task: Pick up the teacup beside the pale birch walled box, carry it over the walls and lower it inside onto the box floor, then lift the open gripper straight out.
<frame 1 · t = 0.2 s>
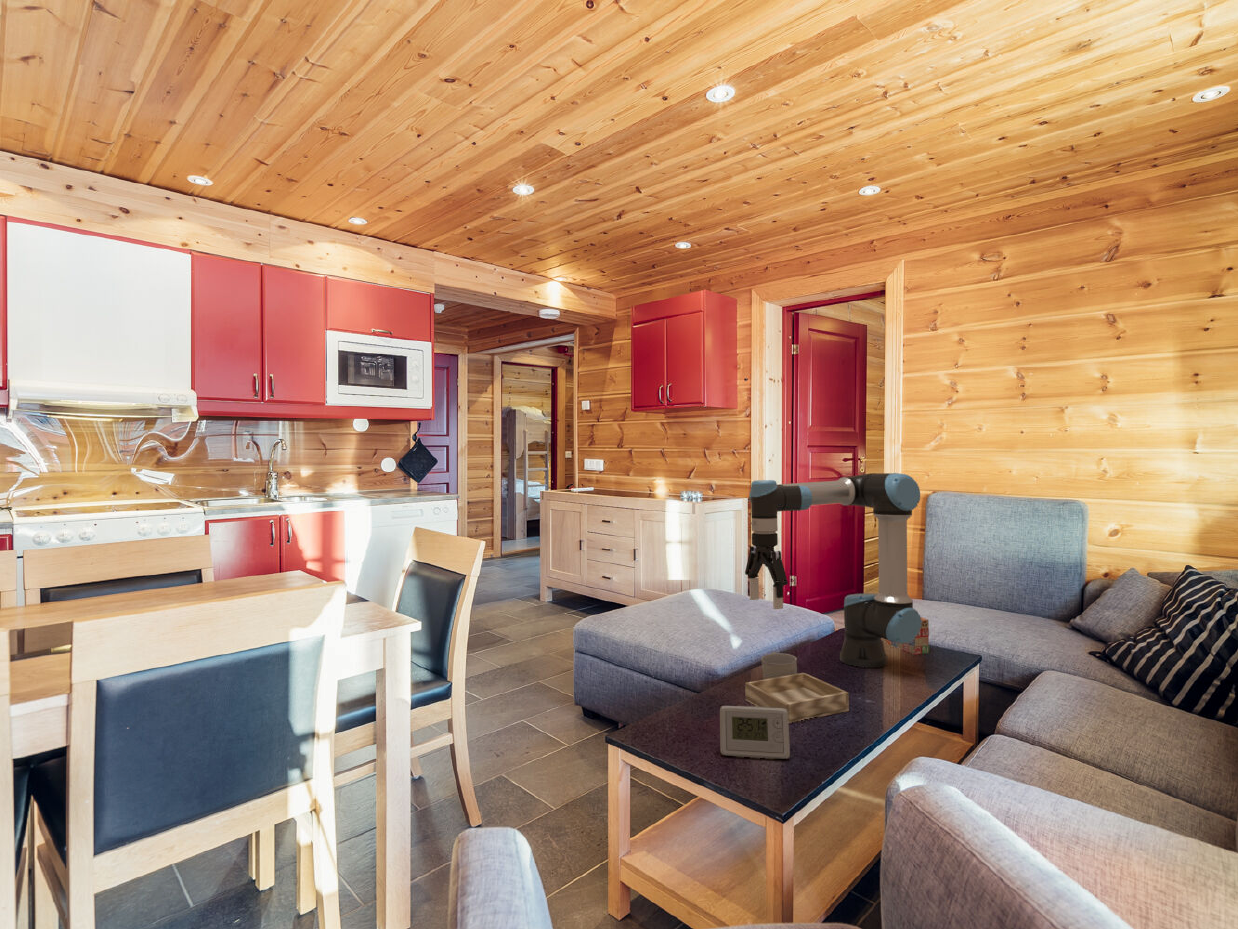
hand: (765, 604, 188), 27 cm above the table, tool pointing down, fingers open, 13 cm apart
stack of blocks: (901, 646, 236), on the table
walled box: (795, 705, 180), on the table
digital clock: (754, 755, 150), on the table
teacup: (779, 682, 200), on the table
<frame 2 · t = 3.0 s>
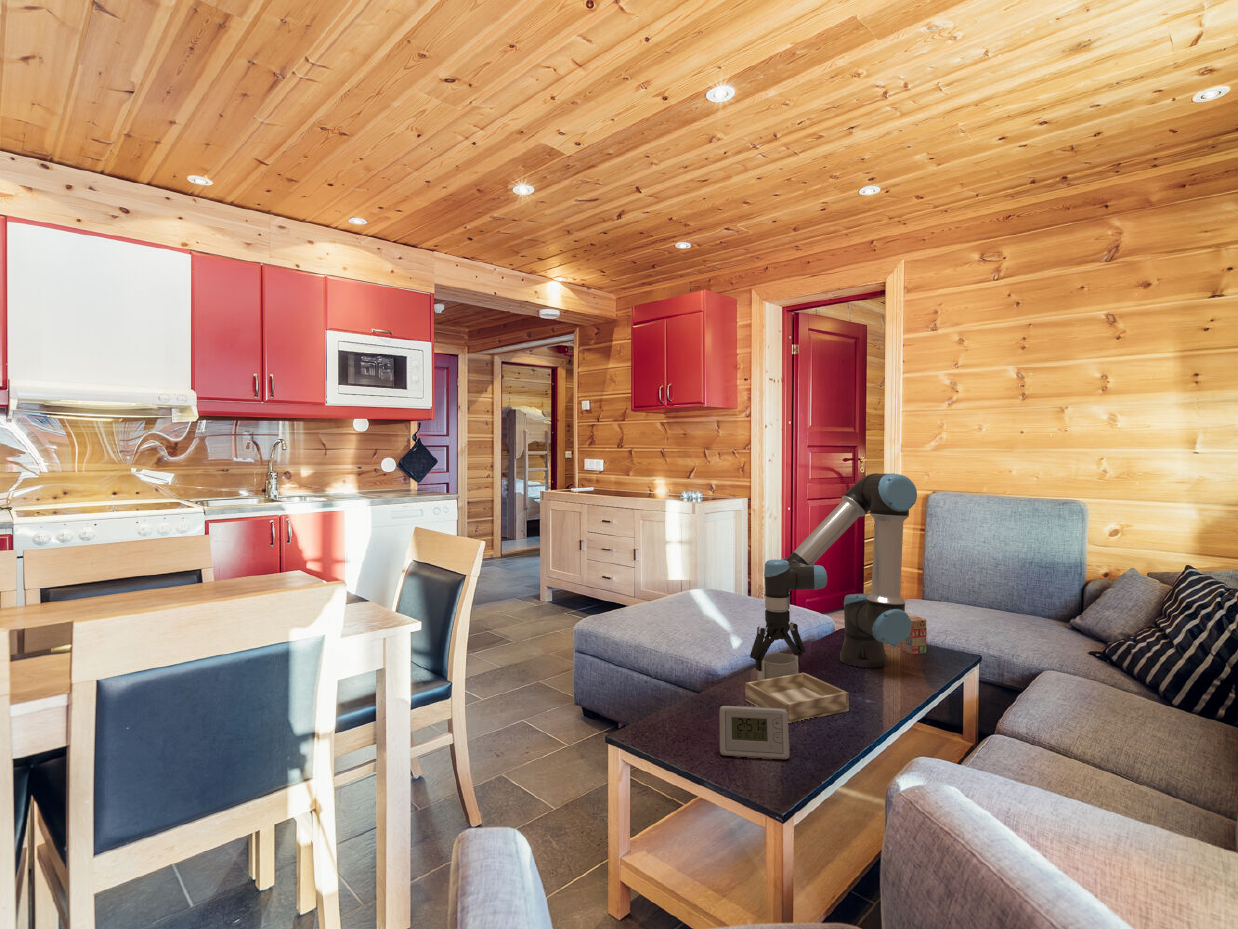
hand: (778, 678, 200), 1 cm above the table, tool pointing down, fingers open, 12 cm apart
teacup: (779, 681, 200), on the table, touching gripper
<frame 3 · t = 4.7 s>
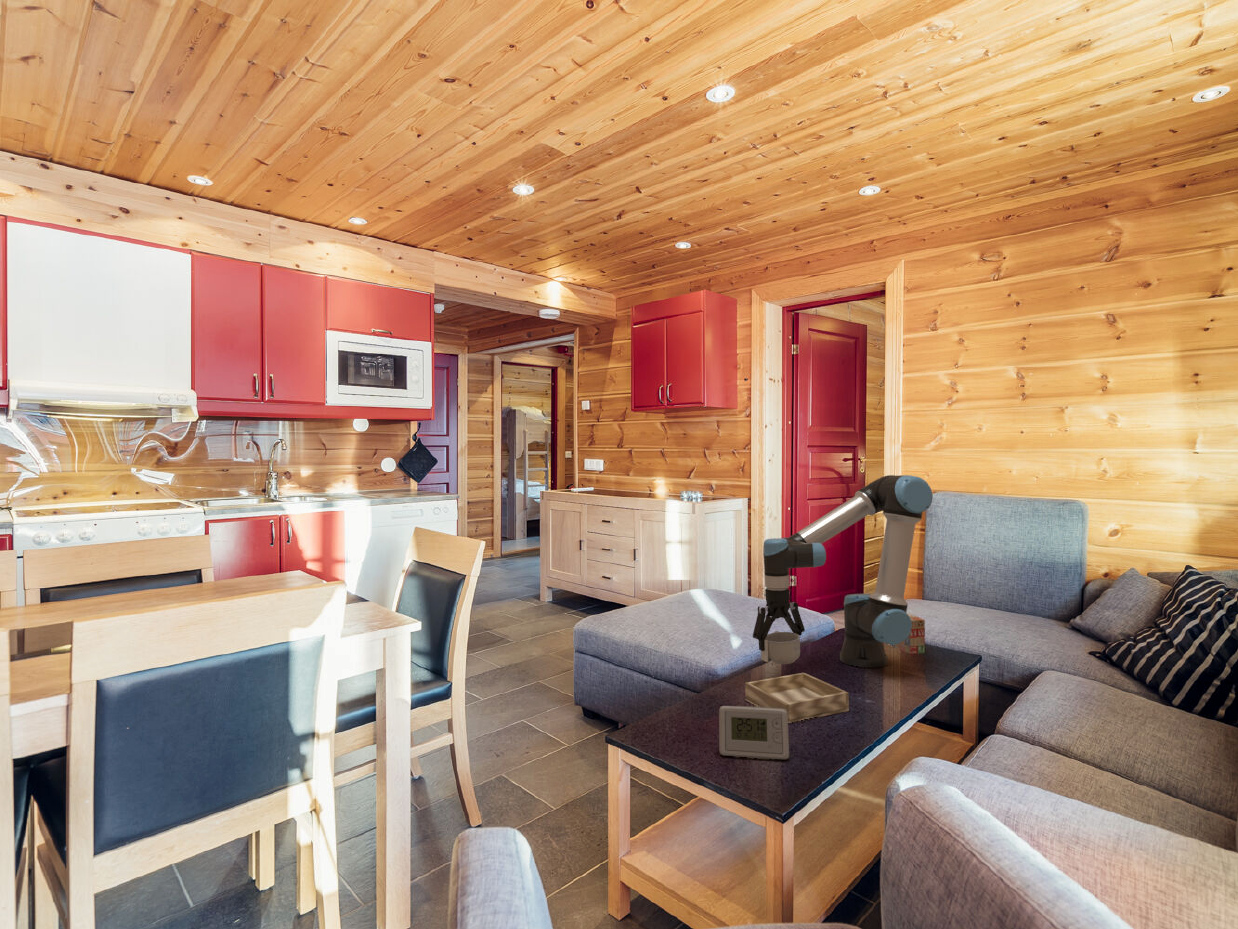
hand: (780, 657, 200), 7 cm above the table, tool pointing down, fingers closed on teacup, 11 cm apart
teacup: (782, 660, 201), point 6 cm above the table, touching gripper
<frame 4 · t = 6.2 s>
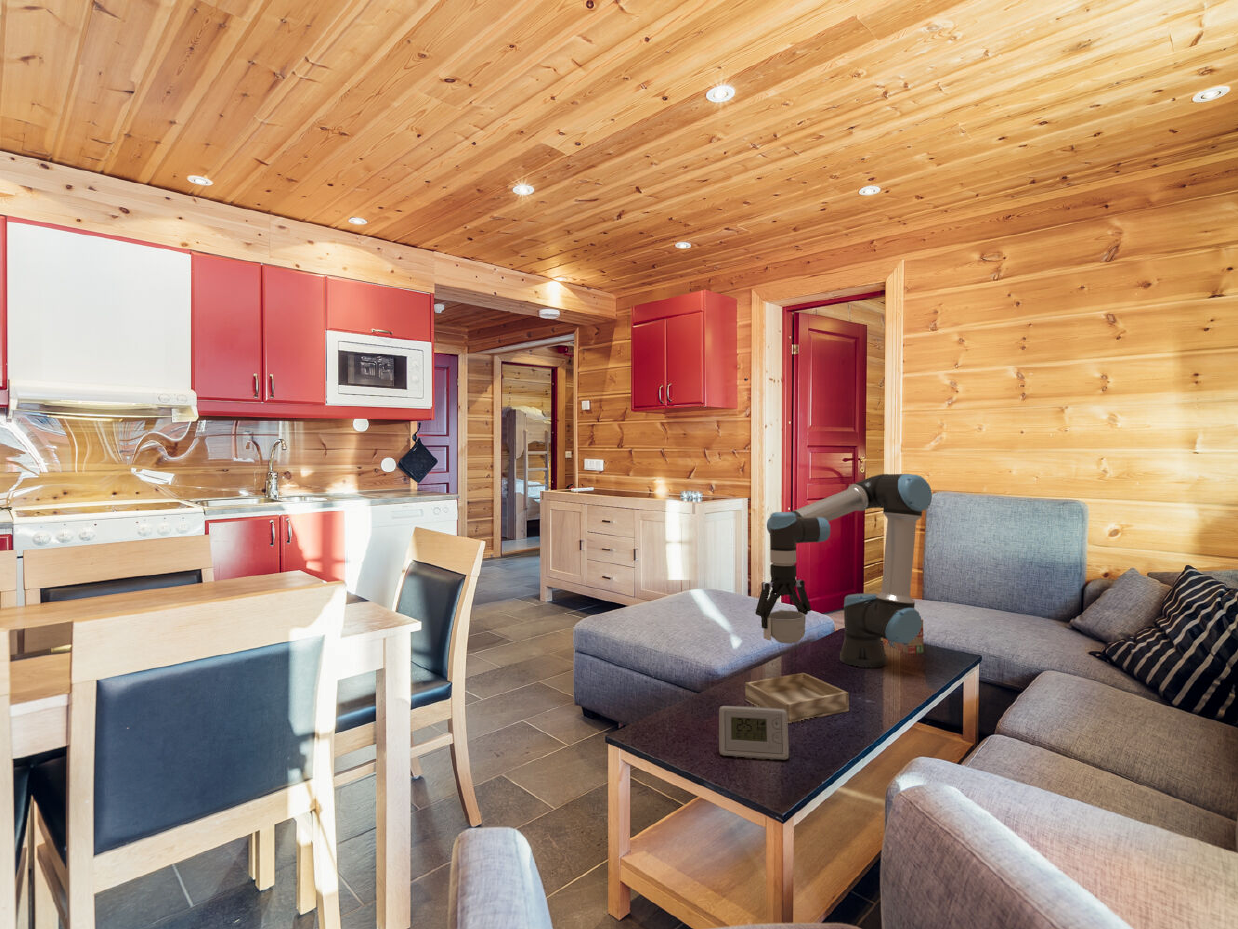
hand: (783, 637, 190), 17 cm above the table, tool pointing down, fingers closed on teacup, 11 cm apart
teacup: (786, 640, 191), point 16 cm above the table, touching gripper
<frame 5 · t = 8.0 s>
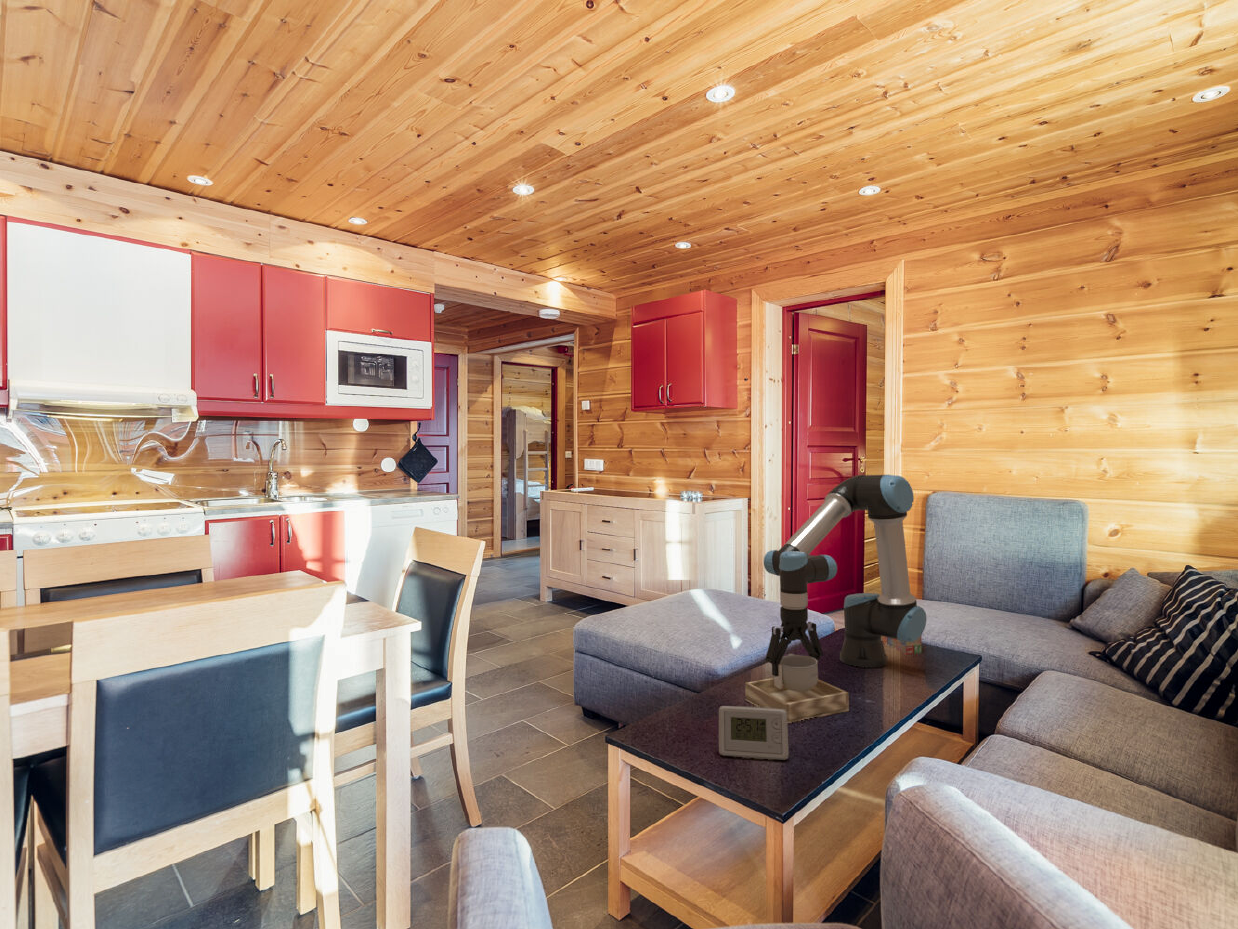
hand: (795, 684, 180), 6 cm above the table, tool pointing down, fingers closed on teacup, 11 cm apart
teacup: (797, 687, 180), point 5 cm above the table, touching gripper
when the fingers open (3 cm above the table, at t = 9.2 s): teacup drops 1 cm, resting on walled box.
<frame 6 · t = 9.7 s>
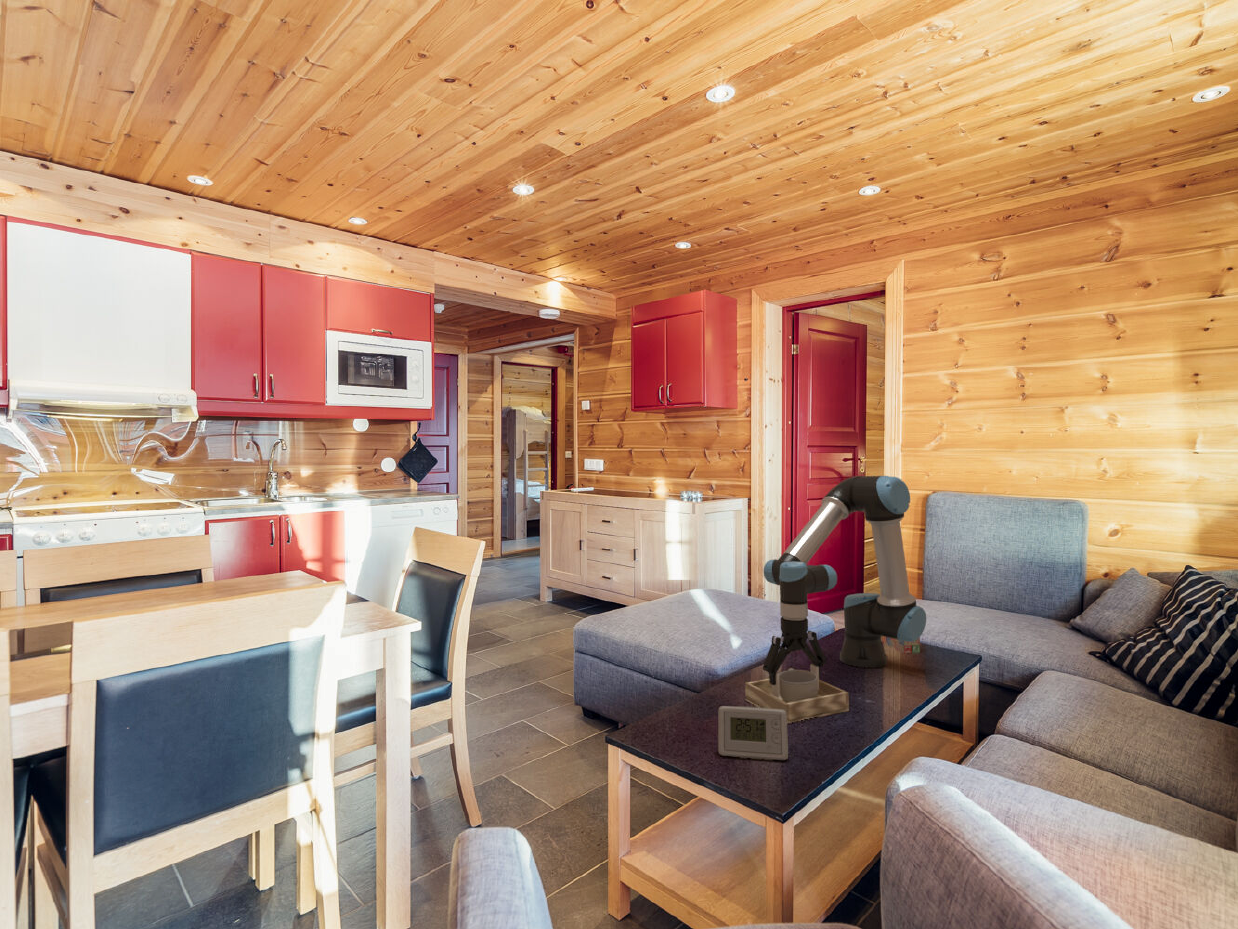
hand: (795, 692, 180), 4 cm above the table, tool pointing down, fingers open, 13 cm apart
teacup: (797, 702, 180), point 1 cm above the table, touching walled box
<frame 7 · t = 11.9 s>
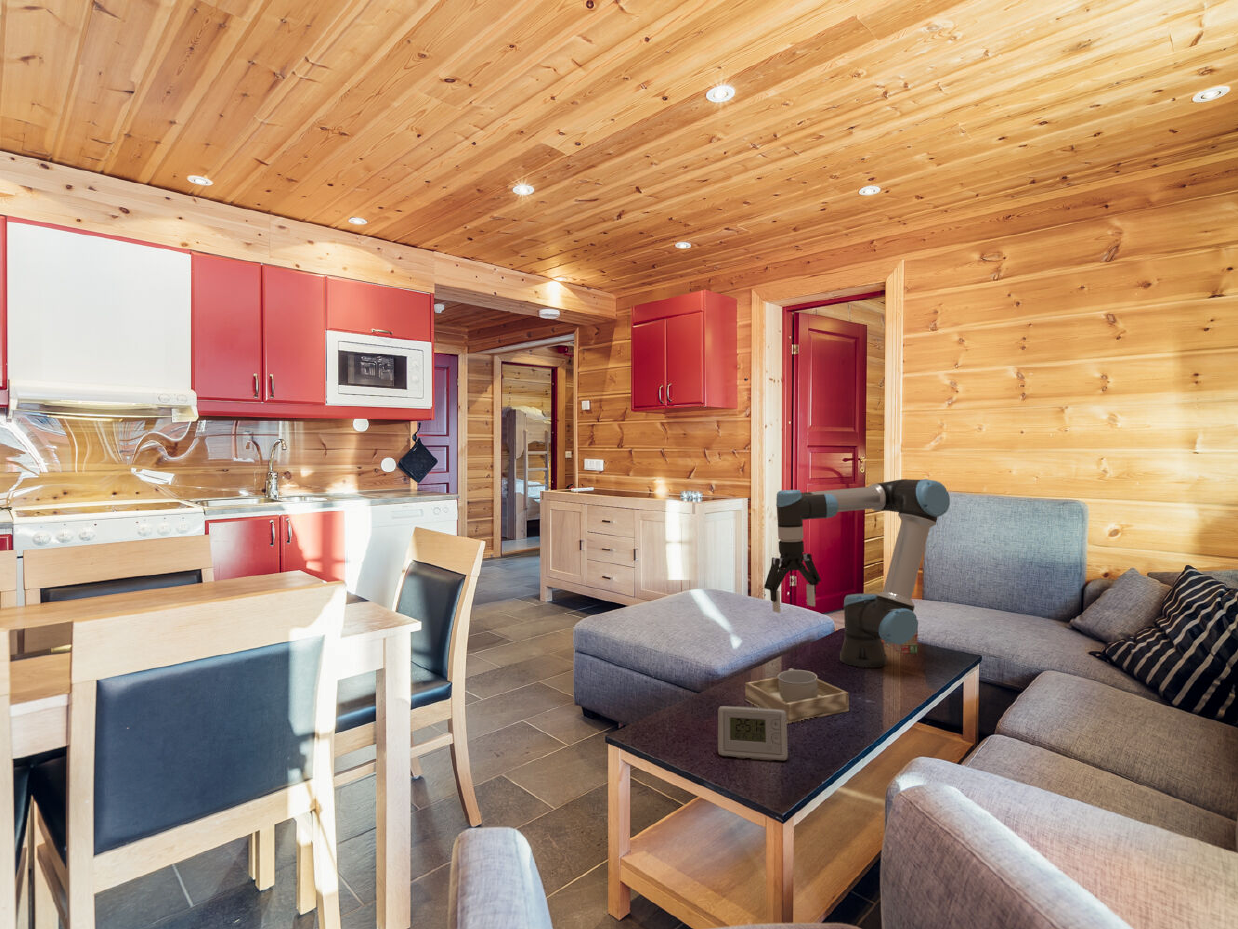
hand: (794, 608, 196), 24 cm above the table, tool pointing down, fingers open, 13 cm apart
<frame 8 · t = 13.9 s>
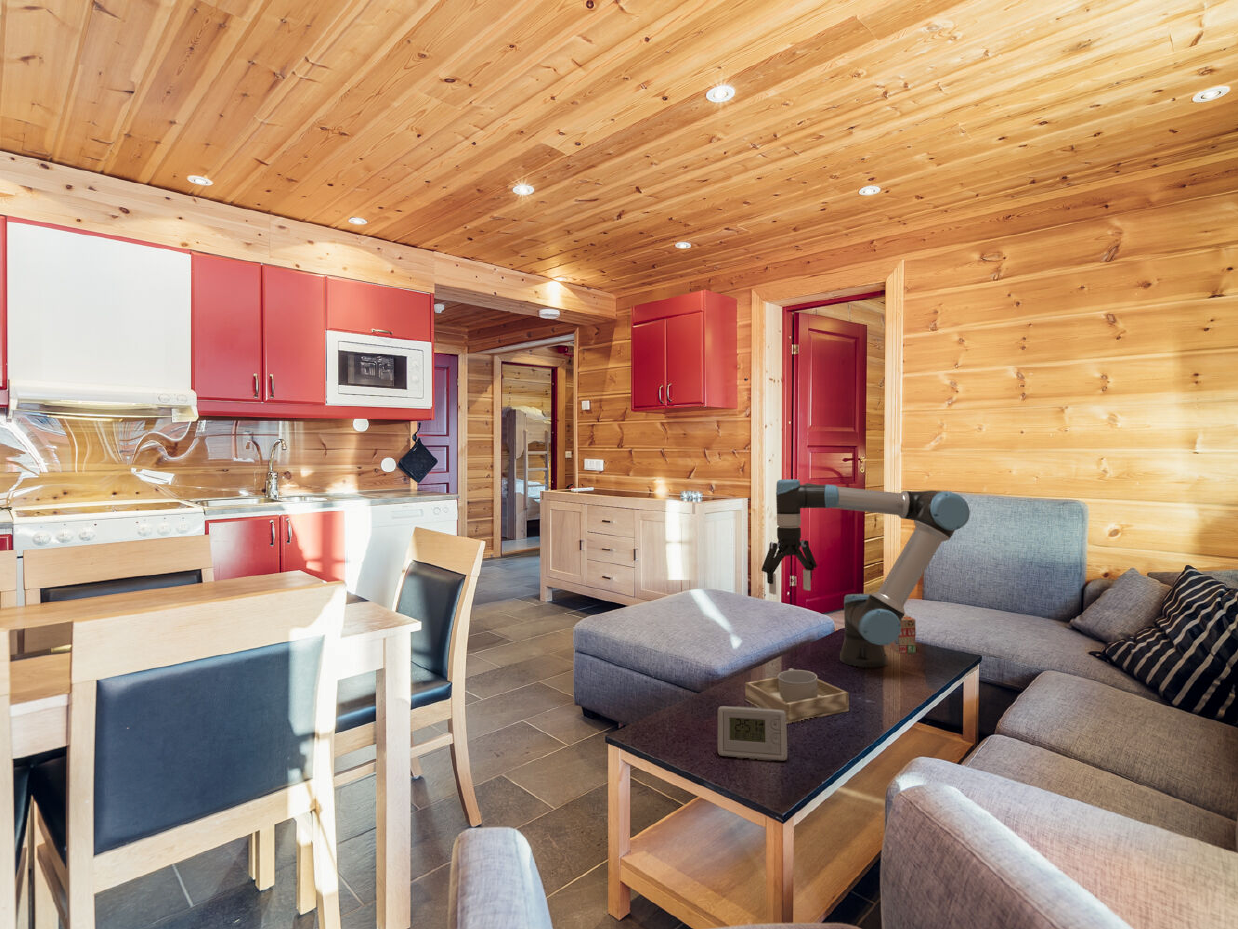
hand: (790, 591, 207), 27 cm above the table, tool pointing down, fingers open, 13 cm apart
at the end: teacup inside the target area on the walled box (0.6 cm from its centre), point 0.8 cm above the walled box's base; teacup tilted 0°; the gripper is holding nothing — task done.
